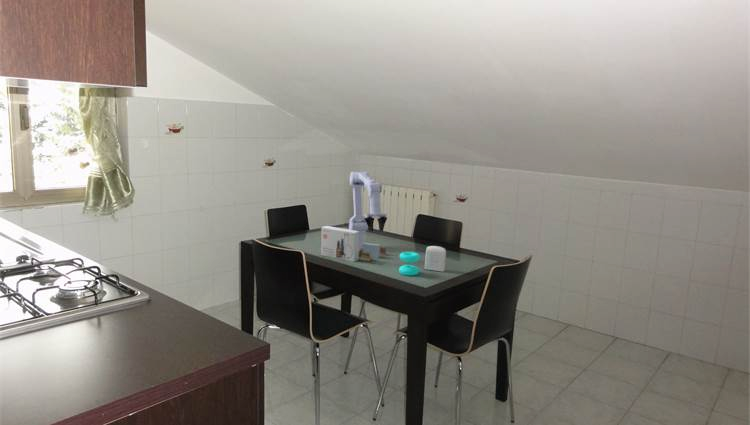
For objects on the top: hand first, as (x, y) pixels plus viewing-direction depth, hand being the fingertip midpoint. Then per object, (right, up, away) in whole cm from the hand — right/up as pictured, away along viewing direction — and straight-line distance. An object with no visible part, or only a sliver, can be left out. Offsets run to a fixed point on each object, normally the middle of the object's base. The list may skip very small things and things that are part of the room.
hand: (376, 231), depth 283 cm
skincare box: (-20, -15, +6) cm, 25 cm away
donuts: (+16, -20, -18) cm, 31 cm away
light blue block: (-3, -14, +11) cm, 18 cm away
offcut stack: (-6, -15, +4) cm, 17 cm away
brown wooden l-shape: (-3, -14, +13) cm, 19 cm away
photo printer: (+30, -20, -10) cm, 37 cm away
